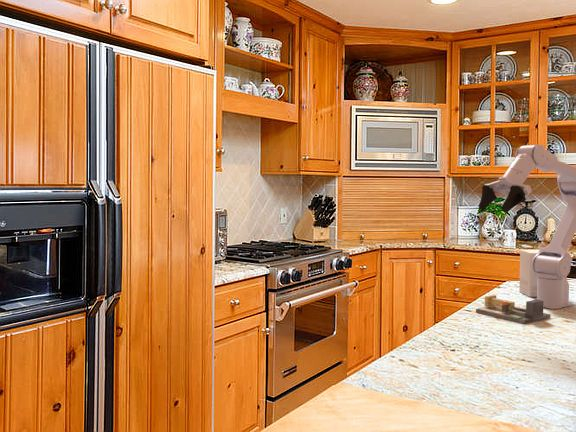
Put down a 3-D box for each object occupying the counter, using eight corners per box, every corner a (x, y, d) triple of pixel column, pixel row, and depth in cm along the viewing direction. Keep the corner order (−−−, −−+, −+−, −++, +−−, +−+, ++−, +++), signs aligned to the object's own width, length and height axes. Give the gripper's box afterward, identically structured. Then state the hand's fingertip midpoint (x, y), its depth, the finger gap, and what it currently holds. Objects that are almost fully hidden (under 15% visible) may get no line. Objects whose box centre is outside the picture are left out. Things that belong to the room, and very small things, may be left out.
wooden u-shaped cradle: (493, 304, 167) (493, 294, 167) (516, 309, 161) (517, 299, 160) (481, 306, 164) (481, 296, 164) (504, 312, 158) (504, 301, 157)
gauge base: (501, 307, 170) (502, 289, 169) (550, 318, 156) (550, 299, 156) (476, 312, 163) (476, 294, 163) (524, 324, 150) (525, 304, 149)
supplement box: (556, 297, 183) (557, 252, 182) (529, 297, 183) (530, 252, 182) (544, 291, 192) (545, 249, 191) (518, 291, 192) (519, 249, 191)
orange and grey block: (504, 310, 158) (505, 300, 158) (508, 311, 157) (508, 301, 157) (500, 311, 157) (500, 301, 157) (503, 312, 156) (504, 302, 156)
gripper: (488, 166, 164) (465, 198, 159) (532, 166, 151) (508, 200, 147) (498, 183, 167) (475, 215, 162) (542, 184, 154) (519, 219, 150)
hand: (492, 209), depth 155 cm, fingers open, 7 cm apart
